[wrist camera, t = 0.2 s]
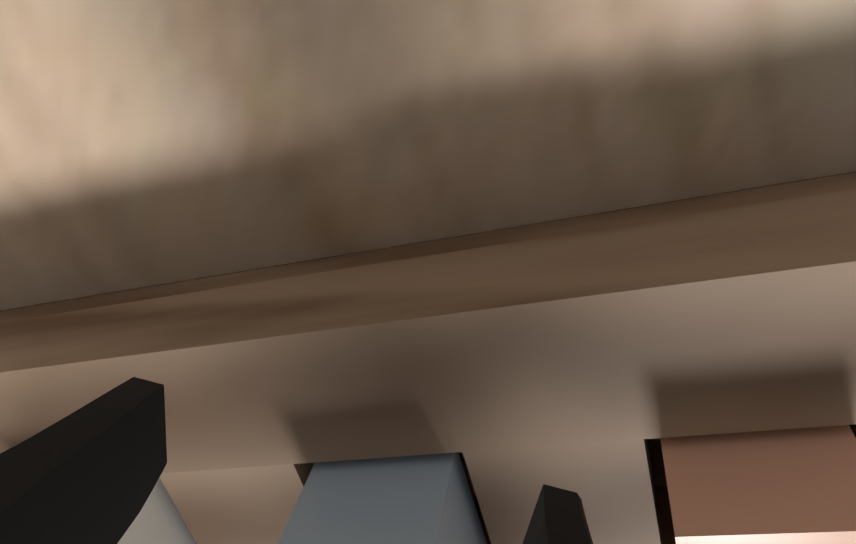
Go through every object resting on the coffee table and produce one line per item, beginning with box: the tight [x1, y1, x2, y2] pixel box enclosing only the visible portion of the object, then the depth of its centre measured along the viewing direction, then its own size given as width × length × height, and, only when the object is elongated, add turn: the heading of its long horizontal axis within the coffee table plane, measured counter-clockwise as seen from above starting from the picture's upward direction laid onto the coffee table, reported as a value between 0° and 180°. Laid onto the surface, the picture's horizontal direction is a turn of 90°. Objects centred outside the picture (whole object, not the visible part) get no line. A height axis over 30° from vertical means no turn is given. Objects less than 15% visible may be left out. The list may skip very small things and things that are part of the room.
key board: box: [0, 172, 856, 544], centre depth 23 cm, size 14×31×4 cm, turn 105°
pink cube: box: [660, 425, 856, 544], centre depth 17 cm, size 4×4×4 cm
